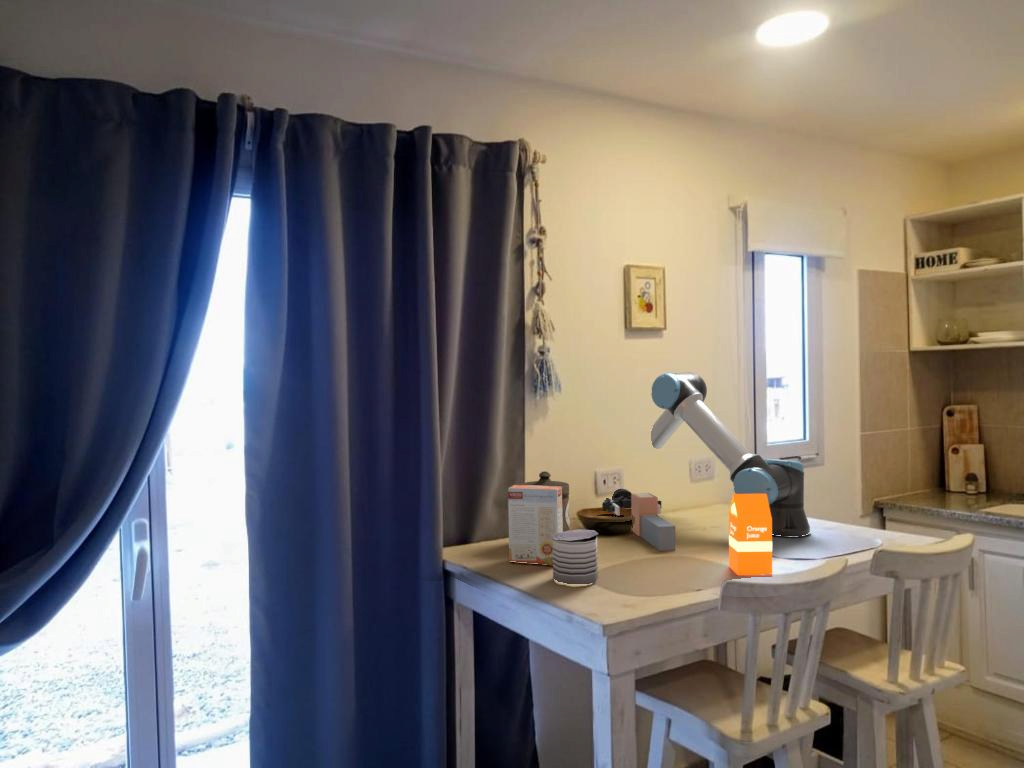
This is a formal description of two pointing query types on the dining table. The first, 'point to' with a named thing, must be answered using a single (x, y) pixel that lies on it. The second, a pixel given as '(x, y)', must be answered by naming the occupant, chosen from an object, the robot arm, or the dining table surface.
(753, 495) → the orange juice
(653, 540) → the pad
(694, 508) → the dining table surface
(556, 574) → the can
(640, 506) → the stub tab
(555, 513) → the cracker box
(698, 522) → the dining table surface
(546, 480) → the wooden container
